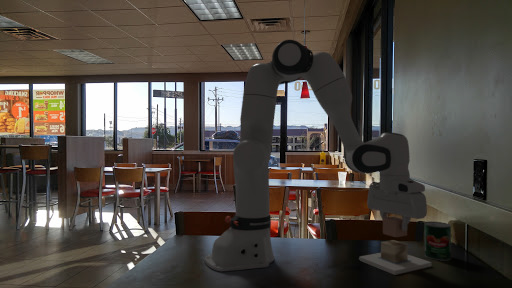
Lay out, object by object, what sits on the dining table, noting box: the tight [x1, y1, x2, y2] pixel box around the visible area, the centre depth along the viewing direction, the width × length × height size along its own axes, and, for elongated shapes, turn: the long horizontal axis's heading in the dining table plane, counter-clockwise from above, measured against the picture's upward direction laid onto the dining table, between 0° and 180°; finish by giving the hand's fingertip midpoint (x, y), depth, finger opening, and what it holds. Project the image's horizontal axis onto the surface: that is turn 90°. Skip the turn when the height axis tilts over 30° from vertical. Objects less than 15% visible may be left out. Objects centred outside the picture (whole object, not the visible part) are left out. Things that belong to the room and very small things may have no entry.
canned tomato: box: [423, 220, 452, 262], centre depth 113 cm, size 8×8×11 cm
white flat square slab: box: [358, 252, 433, 276], centre depth 107 cm, size 16×14×1 cm
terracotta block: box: [382, 216, 408, 238], centre depth 107 cm, size 5×5×5 cm
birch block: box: [380, 239, 409, 263], centre depth 107 cm, size 6×6×5 cm
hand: (394, 227), depth 107 cm, fingers closed on terracotta block, 5 cm apart
